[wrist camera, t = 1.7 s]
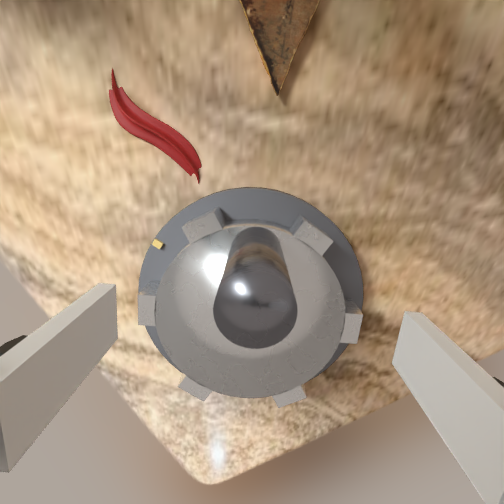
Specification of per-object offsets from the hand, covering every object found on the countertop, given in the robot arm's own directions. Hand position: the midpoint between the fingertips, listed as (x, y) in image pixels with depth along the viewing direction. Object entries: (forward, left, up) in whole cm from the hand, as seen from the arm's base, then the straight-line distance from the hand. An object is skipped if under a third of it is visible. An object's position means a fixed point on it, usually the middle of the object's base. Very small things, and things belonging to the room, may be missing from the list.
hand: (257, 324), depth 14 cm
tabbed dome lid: (+6, 0, -14) cm, 15 cm away
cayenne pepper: (-9, -10, -17) cm, 21 cm away
